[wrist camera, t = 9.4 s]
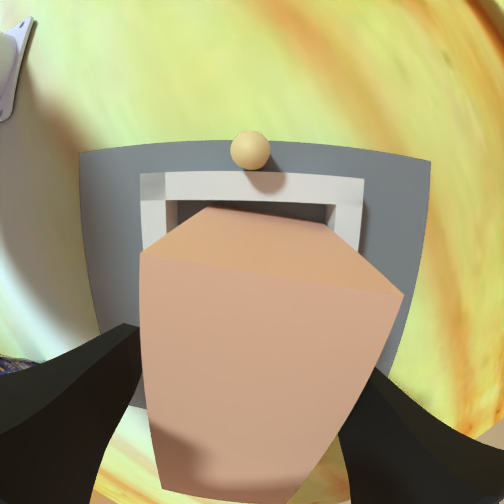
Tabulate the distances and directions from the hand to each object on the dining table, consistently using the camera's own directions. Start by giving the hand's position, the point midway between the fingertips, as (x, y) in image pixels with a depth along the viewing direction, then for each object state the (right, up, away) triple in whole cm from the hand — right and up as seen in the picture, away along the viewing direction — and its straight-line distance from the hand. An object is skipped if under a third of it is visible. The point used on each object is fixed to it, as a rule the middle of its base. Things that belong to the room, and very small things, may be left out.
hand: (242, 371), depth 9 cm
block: (0, +1, +4) cm, 4 cm away
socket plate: (0, +1, +5) cm, 5 cm away
